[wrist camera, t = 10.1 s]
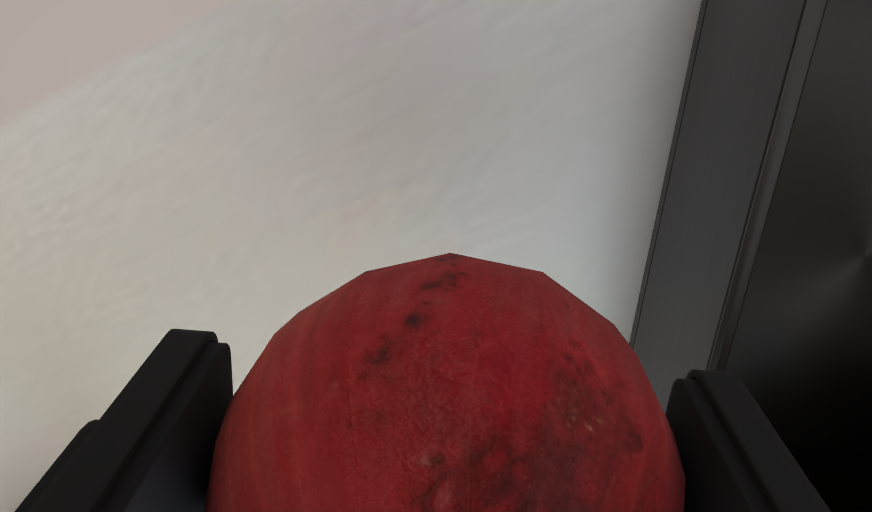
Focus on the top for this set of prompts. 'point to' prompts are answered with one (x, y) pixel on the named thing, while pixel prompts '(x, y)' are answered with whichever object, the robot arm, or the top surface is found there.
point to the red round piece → (446, 403)
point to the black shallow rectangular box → (773, 230)
